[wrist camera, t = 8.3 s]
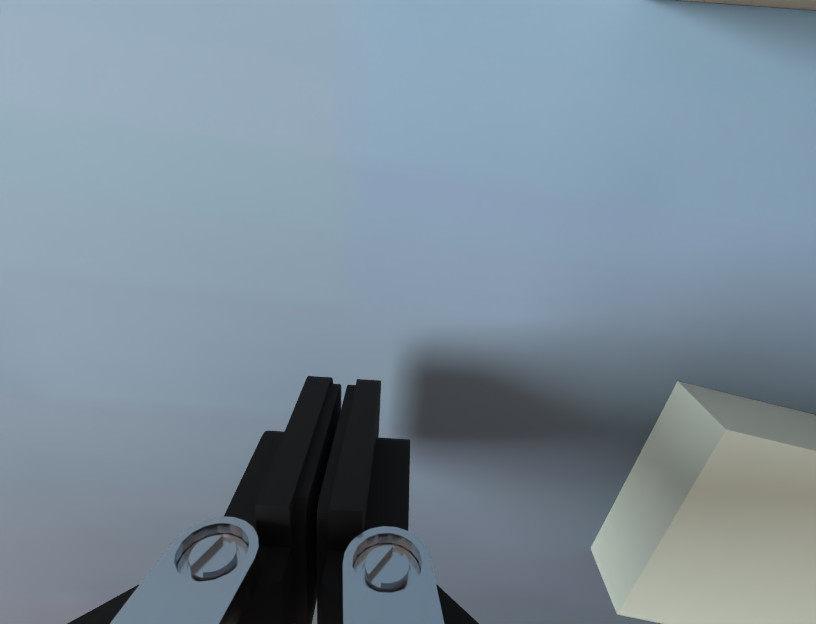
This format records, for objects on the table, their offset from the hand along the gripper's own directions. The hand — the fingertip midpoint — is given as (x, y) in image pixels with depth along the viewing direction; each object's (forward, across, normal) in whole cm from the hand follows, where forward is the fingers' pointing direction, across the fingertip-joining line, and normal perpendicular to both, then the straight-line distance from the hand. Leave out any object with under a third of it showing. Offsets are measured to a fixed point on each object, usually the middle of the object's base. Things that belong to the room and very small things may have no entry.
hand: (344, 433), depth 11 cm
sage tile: (+2, -11, +3) cm, 11 cm away
